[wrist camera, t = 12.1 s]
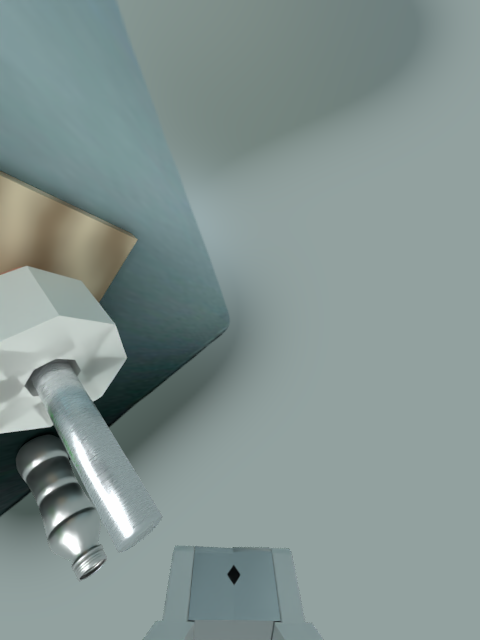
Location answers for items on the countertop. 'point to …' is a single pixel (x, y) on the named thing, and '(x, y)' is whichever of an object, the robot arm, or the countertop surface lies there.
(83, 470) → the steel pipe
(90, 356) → the sleeve
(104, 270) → the oak base board
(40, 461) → the plastic bottle
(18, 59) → the countertop surface
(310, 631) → the robot arm
